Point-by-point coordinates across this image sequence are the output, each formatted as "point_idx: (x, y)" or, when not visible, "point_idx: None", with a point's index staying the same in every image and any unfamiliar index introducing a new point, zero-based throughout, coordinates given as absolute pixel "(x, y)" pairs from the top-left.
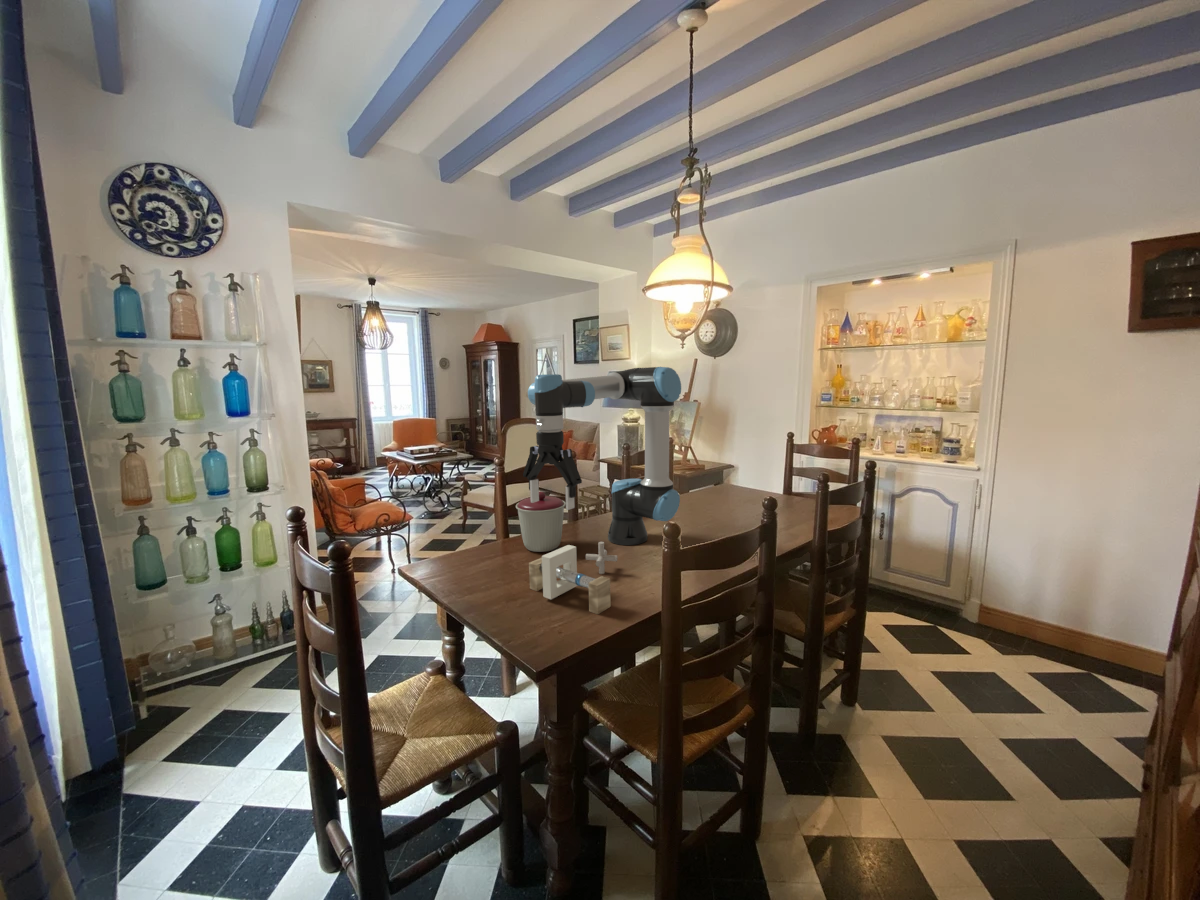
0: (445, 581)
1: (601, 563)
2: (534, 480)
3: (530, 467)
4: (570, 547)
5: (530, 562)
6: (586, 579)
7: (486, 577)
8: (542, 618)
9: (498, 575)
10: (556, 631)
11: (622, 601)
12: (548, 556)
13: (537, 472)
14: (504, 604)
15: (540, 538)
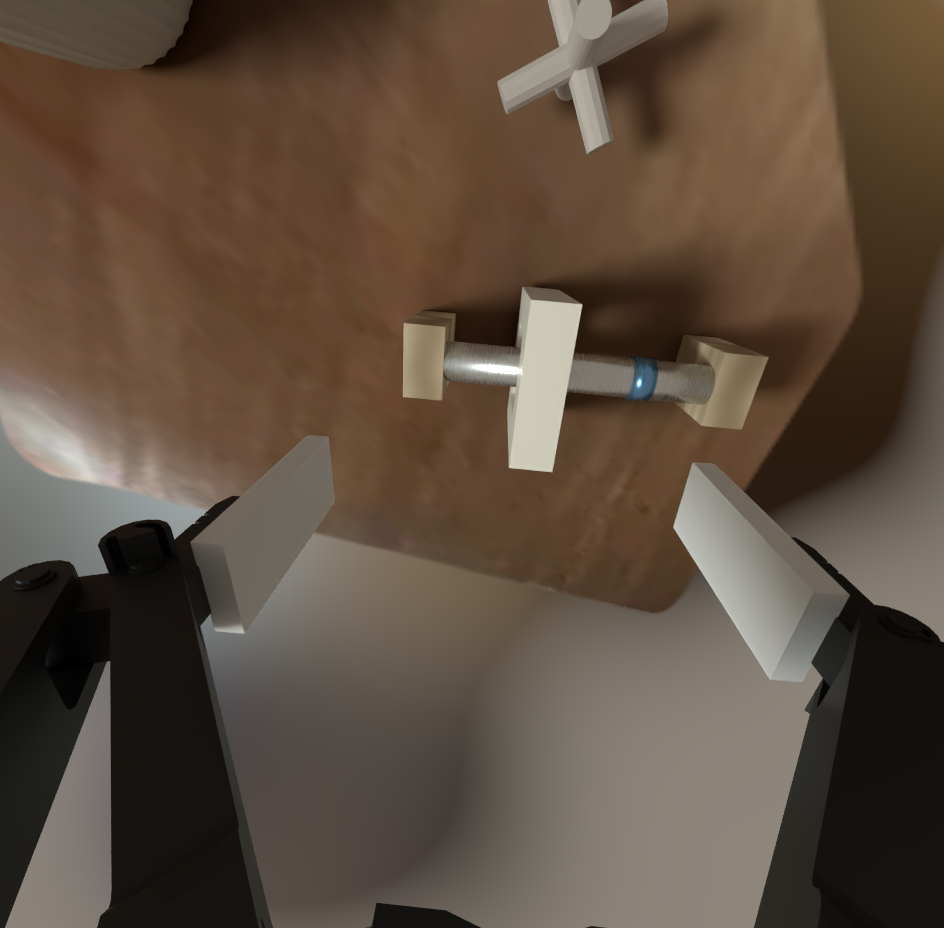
0: (186, 461)
1: (612, 133)
2: (239, 596)
3: (42, 754)
4: (561, 327)
5: (404, 389)
6: (677, 398)
7: (246, 381)
8: (568, 482)
9: (260, 349)
10: (633, 510)
11: (744, 284)
12: (536, 459)
13: (206, 667)
14: (433, 476)
15: (135, 24)
